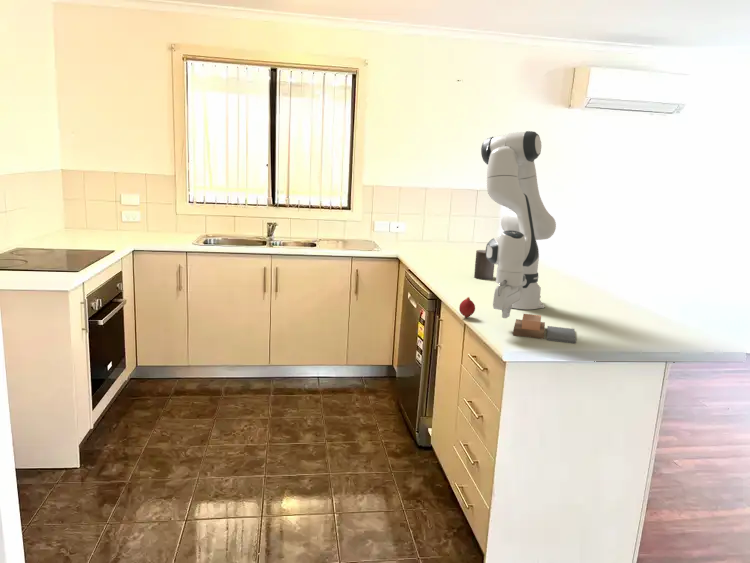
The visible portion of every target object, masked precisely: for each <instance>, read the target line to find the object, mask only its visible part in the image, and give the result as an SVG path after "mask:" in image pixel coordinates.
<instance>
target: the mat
mask: <svg viewBox="0 0 750 563" xmlns="http://www.w3.org/2000/svg"><path fill="white" fill-rule="evenodd" d="M546 328H547V329H546V341H552V342H561V343H568V344H576V343H577V340H576V334H575V333H576V332H575V328H572V327H571V328H569V327H561V326H552V325H551V326H550V325H547V327H546Z"/></svg>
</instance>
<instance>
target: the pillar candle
mask: <svg viewBox="0 0 750 563" xmlns="http://www.w3.org/2000/svg"><path fill="white" fill-rule="evenodd" d="M474 262H475V264H474V276H473V278H476V279H478V280H485V281H486V280H487V281H488V280H493V279H494V273H495V264H493V263H491V262H489V261H488V259H487V258H486V249H478V250H476V253H475V261H474Z"/></svg>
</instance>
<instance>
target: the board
mask: <svg viewBox="0 0 750 563" xmlns="http://www.w3.org/2000/svg"><path fill="white" fill-rule="evenodd" d="M545 325H546V322H544V321H541V323H540V331H539V330H530V329H522V319H520V318H519V319H517V318H516V319H515V322H514V326H513V329H512V330H513V331H512V335H513V336H516V337H522V338H523V337H524V338H532V339H540V340H544V339H545V330H546V329H545Z"/></svg>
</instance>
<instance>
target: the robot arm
mask: <svg viewBox="0 0 750 563" xmlns="http://www.w3.org/2000/svg"><path fill="white" fill-rule="evenodd" d="M541 140H542V139H541V137H540V135H539V134H538V133H537V132H536V131H531V130H530V131H529V130H528V131H520V132H519V131H517V132H509V133H507V134H506V133H505V134H501V135H497V136H492V137H488V138H485V139H484V140H483V142H482V144H481V147H480V150H481V157H482V160H483V162H484V163H485V164H486V165H487V168H486V169H487V171H486V189H487V194H488V196H489V197H490V198H491V200H492V201H494V202H495V203H497V204H499V205H501V206H503V207H505V208H507V209H509V210H507V211H505V212H504V213H503V214H502V217H501V219H500V226H501V228H502V230H503V231H502V233H501V234H500V236H498V237H495V238H494V237H493V238H491V239H490V240H489V241H488V242H487V244H486V246H485V250H486V258H487V259H488V261H489V262H491V263H493V264H494V265H497V268H496V276H495V277H496V278H495V282H496V284H498V286H496V287H495V290H494V294H493V301H492V307H493V309H495V310H499V311H501V313H502V314H501V318H503V319H508V317H510V316H511V315H510V313H511V311H512V309H517V310H536V309H544V308H545V305H544V303H543V302H542V300H541V290H542V289H541V287H540V285H539V272H538V270H539V260H540V259H539V258H540V254H539V253H540V252H539V246H538V242H537V241H542V240H548V239H550V238H551V237H553V235H554V234H555V232H556V229H557V223H556V220H555V218H554V216H552V214H550V213H549V211H548V210H547V209H546V206H545V205H544V203H543V200H542V198H541V195H540V191H539V184H538V176H537V170H536V164H535V160H536V159H538V157H539V156H540V155H541V151H542V141H541Z"/></svg>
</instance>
